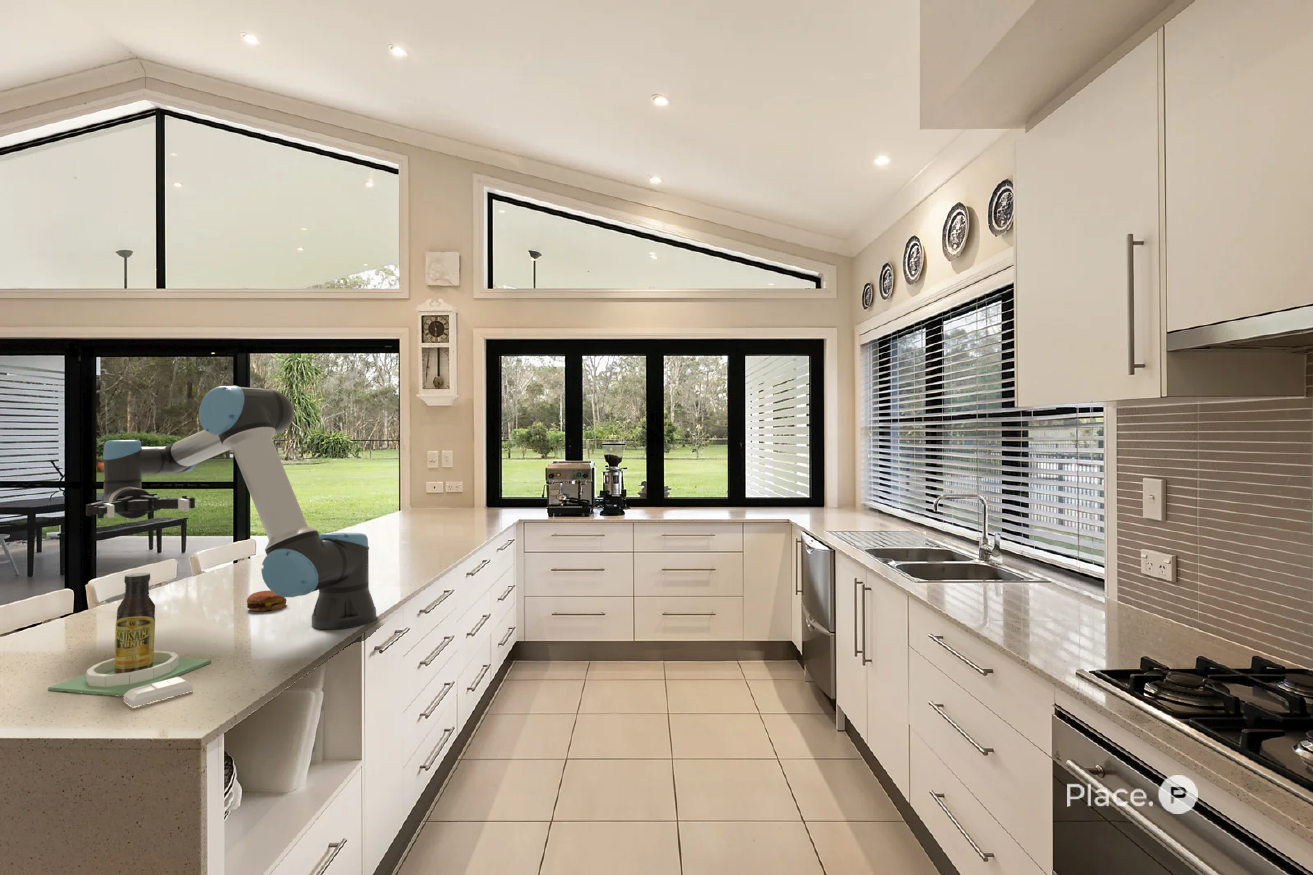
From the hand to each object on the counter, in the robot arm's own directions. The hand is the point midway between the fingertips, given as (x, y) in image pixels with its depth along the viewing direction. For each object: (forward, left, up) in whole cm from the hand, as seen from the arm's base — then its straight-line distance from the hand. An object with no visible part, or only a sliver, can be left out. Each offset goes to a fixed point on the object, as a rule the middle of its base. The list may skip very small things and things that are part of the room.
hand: (151, 508), depth 145 cm
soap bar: (-27, +22, -33) cm, 48 cm away
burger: (+1, -35, -32) cm, 47 cm away
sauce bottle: (-12, +14, -32) cm, 37 cm away
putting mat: (-12, +14, -32) cm, 37 cm away
